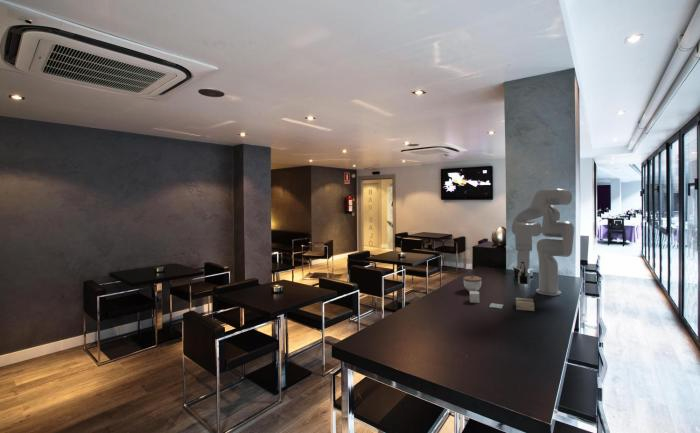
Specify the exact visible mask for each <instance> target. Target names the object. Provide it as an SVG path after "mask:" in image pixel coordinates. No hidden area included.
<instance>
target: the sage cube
mask: <svg viewBox="0 0 700 433" xmlns="http://www.w3.org/2000/svg"><path fill="white" fill-rule="evenodd" d="M526 276H527V284H525V285H528V286H529V285H531V284H530V283H531V272H528V273H526ZM517 284H518V285H519V284H520V271H519V272H518V273H517ZM520 285H521V284H520Z"/></svg>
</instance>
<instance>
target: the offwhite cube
mask: <svg viewBox="0 0 700 433" xmlns="http://www.w3.org/2000/svg"><path fill="white" fill-rule="evenodd" d="M468 292H469V303H473V304H480V291H479V290H478V291H468Z"/></svg>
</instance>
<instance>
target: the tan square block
mask: <svg viewBox="0 0 700 433" xmlns="http://www.w3.org/2000/svg"><path fill="white" fill-rule="evenodd" d="M515 309H516V311H517V310H520V311H528V312H529V311H532V312H535V303H534V298H525V297H524V298H523V297H515Z"/></svg>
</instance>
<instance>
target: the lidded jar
mask: <svg viewBox="0 0 700 433" xmlns="http://www.w3.org/2000/svg"><path fill="white" fill-rule="evenodd" d="M462 279H463V285H464V288H465V289H466V290H467V291H468V292H469V291H478V292H479V290H480V289H481V287H482V277H481V276H477V275H476V276H475V275H469V276H468V275H466V276H463V278H462Z"/></svg>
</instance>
